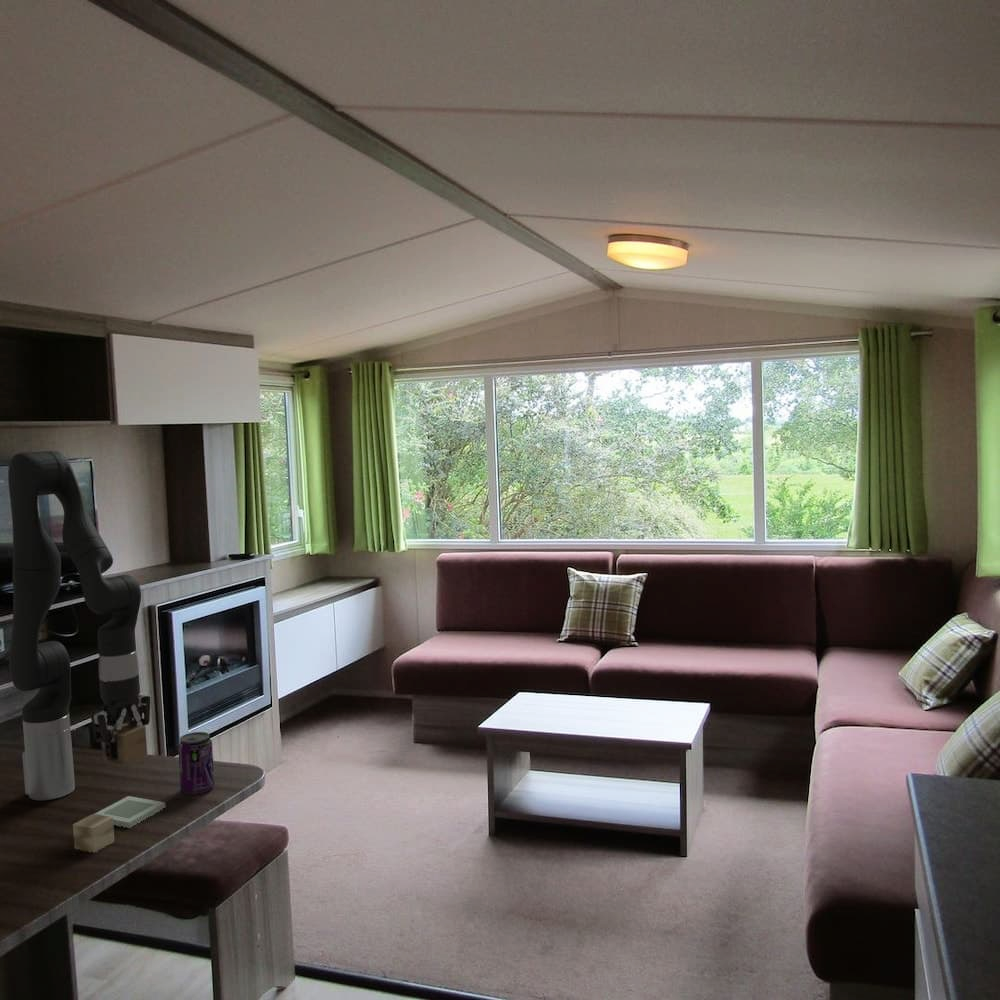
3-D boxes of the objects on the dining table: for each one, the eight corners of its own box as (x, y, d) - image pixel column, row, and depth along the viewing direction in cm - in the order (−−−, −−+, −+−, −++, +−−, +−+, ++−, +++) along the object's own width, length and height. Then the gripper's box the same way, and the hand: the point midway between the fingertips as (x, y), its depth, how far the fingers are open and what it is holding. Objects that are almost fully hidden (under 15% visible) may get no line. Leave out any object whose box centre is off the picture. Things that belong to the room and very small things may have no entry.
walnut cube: (102, 761, 192) (100, 732, 192) (125, 751, 198) (123, 723, 197) (125, 765, 190) (123, 736, 189) (147, 754, 195) (145, 726, 195)
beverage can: (204, 797, 203) (201, 743, 201) (174, 795, 204) (171, 741, 203) (220, 784, 210) (217, 731, 208) (191, 782, 211) (188, 730, 210)
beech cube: (74, 849, 180) (72, 824, 180) (95, 838, 185) (93, 813, 184) (94, 853, 178) (92, 828, 178) (114, 842, 183) (112, 817, 182)
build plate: (92, 820, 192) (91, 814, 192) (128, 801, 202) (128, 795, 201) (129, 828, 189) (129, 822, 188) (165, 808, 198) (165, 802, 198)
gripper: (131, 663, 200) (136, 740, 202) (77, 682, 187) (83, 764, 189) (158, 666, 197) (164, 744, 199) (105, 685, 184) (111, 768, 186)
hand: (124, 753), depth 194 cm, fingers closed on walnut cube, 6 cm apart
